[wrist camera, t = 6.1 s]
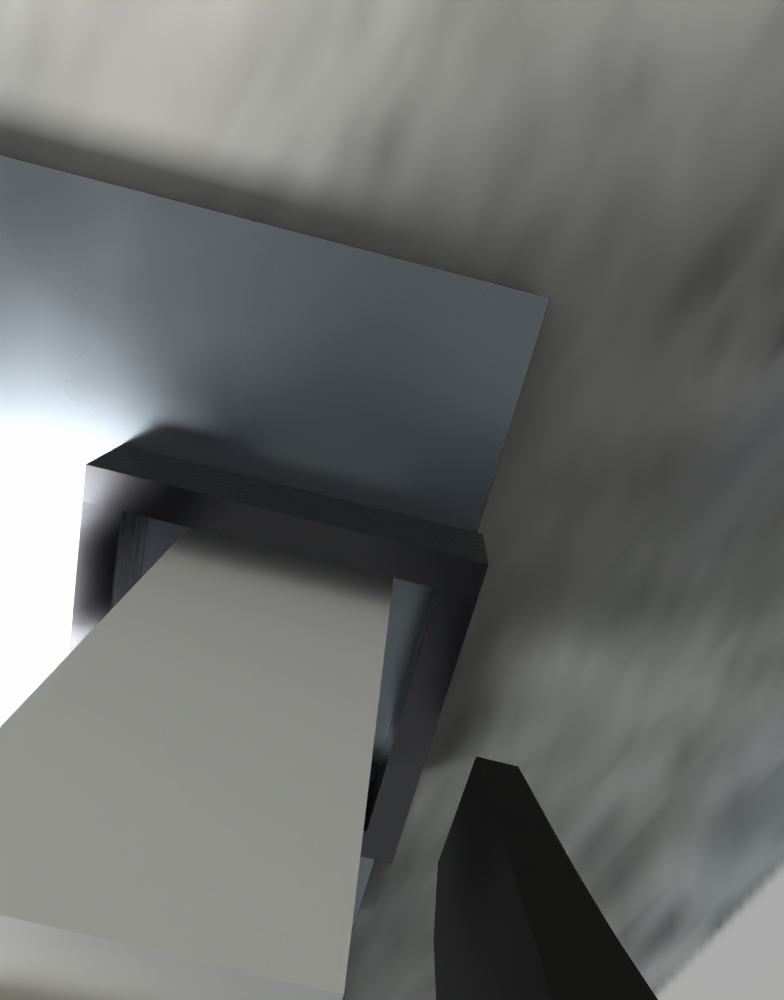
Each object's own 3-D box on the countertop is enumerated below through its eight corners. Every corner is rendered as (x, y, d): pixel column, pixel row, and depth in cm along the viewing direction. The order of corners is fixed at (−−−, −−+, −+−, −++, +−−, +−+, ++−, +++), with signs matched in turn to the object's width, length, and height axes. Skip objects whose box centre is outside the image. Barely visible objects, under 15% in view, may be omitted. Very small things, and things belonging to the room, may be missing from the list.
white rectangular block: (347, 739, 13) (236, 1380, 5) (164, 696, 12) (-207, 1285, 5) (393, 576, 11) (329, 1111, 4) (191, 525, 11) (-240, 979, 4)
